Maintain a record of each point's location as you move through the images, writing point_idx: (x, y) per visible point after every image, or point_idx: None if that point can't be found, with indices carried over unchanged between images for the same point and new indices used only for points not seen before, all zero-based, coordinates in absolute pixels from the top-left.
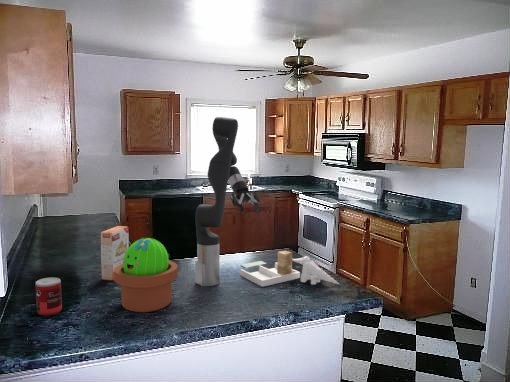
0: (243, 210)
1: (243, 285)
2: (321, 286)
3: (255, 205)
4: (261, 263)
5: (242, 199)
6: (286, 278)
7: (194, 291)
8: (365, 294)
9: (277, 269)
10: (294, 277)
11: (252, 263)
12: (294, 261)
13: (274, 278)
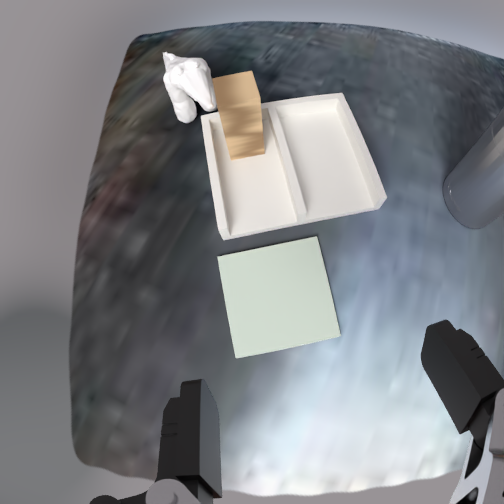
0: (441, 321)
1: (382, 144)
2: None
3: (208, 455)
4: (250, 322)
5: (491, 471)
6: None
7: None
8: (137, 49)
9: (263, 139)
10: None
11: (287, 335)
12: (211, 96)
13: (300, 98)
